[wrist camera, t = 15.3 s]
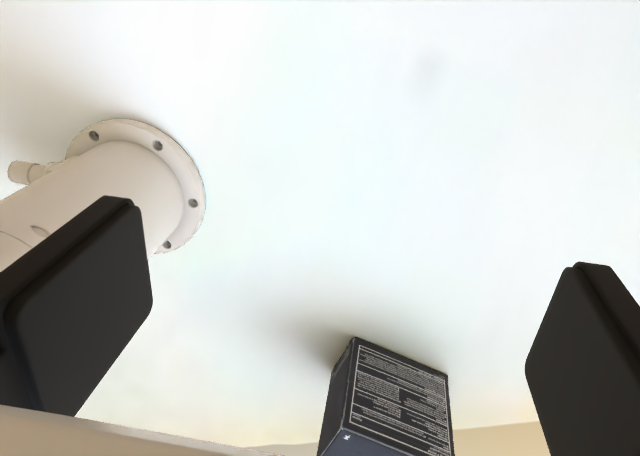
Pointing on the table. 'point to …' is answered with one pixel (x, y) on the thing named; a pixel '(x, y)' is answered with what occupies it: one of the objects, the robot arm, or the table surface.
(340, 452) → the small box
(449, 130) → the table surface
